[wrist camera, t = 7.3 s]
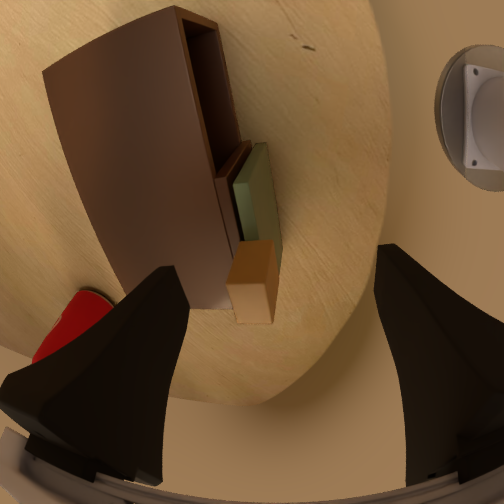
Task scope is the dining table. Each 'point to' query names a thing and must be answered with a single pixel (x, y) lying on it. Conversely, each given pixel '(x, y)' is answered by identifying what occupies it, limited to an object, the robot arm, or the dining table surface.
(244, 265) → the green drawer
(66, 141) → the cabinet
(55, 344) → the beverage can
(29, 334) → the dining table surface
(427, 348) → the robot arm
